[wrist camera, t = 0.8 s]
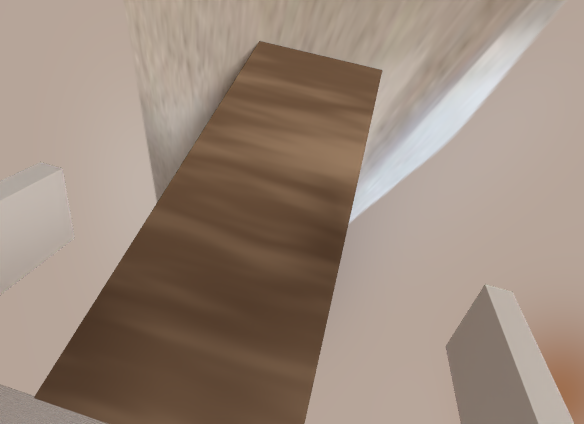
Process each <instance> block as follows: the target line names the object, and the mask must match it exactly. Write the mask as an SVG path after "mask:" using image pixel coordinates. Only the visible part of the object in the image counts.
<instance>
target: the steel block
mask: <svg viewBox="0 0 584 424" xmlns="http://www.w3.org/2000/svg"><path fill="white" fill-rule="evenodd" d="M34 397H35V396H32V395H30V394H26V393H24V392H21V391H18V390H15V389H12V388H9V387H6V386H3V385H0V424H108V423H105V422H102V421H99V420H96V419H93V418H90V417H87V416H84V415H81V414H78V413H76V412H73V411H70V410H67V409H64V408H61V407H58V406H55V405H52V404H49V403H47V402H44V401H41V400H38V399H35V398H34Z"/></svg>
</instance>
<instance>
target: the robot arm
mask: <svg viewBox="0 0 584 424" xmlns="http://www.w3.org/2000/svg"><path fill="white" fill-rule="evenodd" d="M73 239H74V232H73V226H72V220H71V215H70V208H69V202H68V196H67V190H66V184H65V178H64V173H63V168H60V167H57V166H53V165H50V164H46V163H42V162H40V163H38V164H35V165H33V166H31V167H29V168H27V169H25V170H23V171H20V172H18V173H16V174H14V175H12V176H10V177H7V178H5V179H3V180H1V181H0V295H1V294H3V293H4V292H5V291H7V290H8V289H9V288H10V287H12V286H13V285H14V284H16V283H17V282H18V281H20V280H21V279H22V278H24V277H25V276H26V275H27V274H29V273H30V272H31V271H33V270H34V269H35V268H37V267H38V266H39V265H40V264H42V263H43V262H44V261H46V260H47V259H48V258H50V257H51V256H52V255H53V254H55V253H56V252H57V251H59V250H60V249H61V248H63V247H64V246H65V245H66V244H68V243H69V242H70V241H72V240H73ZM446 350H447V355H448V360H449V365H450V371H451V376H452V381H453V385H454V391H455V396H456V401H457V405H458V411H459V416H460V421H461V424H574V422H573V420H572V418H571V416H570V414H569V411H568V409H567V407H566V405H565V403H564V401H563V399H562V396H561V394H560V392H559V390H558V388H557V386H556V384H555V382H554V379H553V377H552V375H551V373H550V371H549V369H548V367H547V365H546V362H545V360H544V358H543V356H542V354H541V352H540V350H539V347H538V346H537V343H536V341H535V339H534V337H533V335H532V332H531V330H530V328H529V326H528V324H527V322H526V319H525V317H524V315H523V313H522V311H521V309H520V307H519V305H518V302H517V300H516V298H515V296H514V294H513V292H512V291H507V290H504V289H501V288H497V287H494V286H490V285H486V284H485V285H484V287H483V289H482V290H481V292H480V293H479V295H478V296H477V298H476V299H475V301H474V302H473V304H472V306H471V307H470V309H469V310H468V312H467V314H466V315H465V317H464V318H463V320H462V321H461V323H460V325H459V326H458V328H457V329H456V331H455V333H454V334H453V336H452V337H451V339H450V341H449V342H448V344H447V345H446Z"/></svg>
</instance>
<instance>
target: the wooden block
mask: <svg viewBox="0 0 584 424" xmlns="http://www.w3.org/2000/svg"><path fill="white" fill-rule="evenodd" d="M381 74H382V70H379V69H375V68H370V67H366V66H362V65H358V64H354V63H349V62H345V61H341V60H337V59H333V58H328V57H324V56H320V55H316V54H311V53H307V52H303V51H299V50H295V49H290V48H286V47H282V46H278V45H274V44H269V43H265V42H261V41H259V43H258V44H257V46H256V48H255V49H254V51H253V52H252V54H251V56H250V57H249V59H248V60H247V62H246V63H245V65H244V67H243V68H242V70H241V71H240V73H239V74H238V76H237V78H236V79H235V81H234V82H233V84H232V86H231V87H230V89H229V90H228V92H227V93H226V95H225V97H224V98H223V100H222V101H221V103H220V104H219V106H218V108H217V109H216V111H215V112H214V114H213V116H212V117H211V119H210V120H209V122H208V123H207V125H206V127H205V128H204V130H203V131H202V133H201V134H200V136H199V138H198V139H197V141H196V142H195V144H194V146H193V147H192V149H191V150H190V152H189V153H188V155H187V157H186V158H185V160H184V161H183V163H182V164H181V166H180V168H179V169H178V171H177V172H176V174H175V176H174V177H173V179H172V180H171V182H170V183H169V185H168V187H167V188H166V190H165V191H164V193H163V194H162V196H161V198H160V199H159V201H158V202H157V204H156V206H155V207H154V209H153V210H152V212H151V214H150V215H149V217H148V218H147V220H146V222H145V223H144V225H143V226H142V228H141V229H140V231H139V232H138V234H137V236H136V237H135V239H134V240H133V242H132V243H131V245H130V247H129V248H128V250H127V251H126V253H125V255H124V256H123V258H122V259H121V261H120V262H119V264H118V266H117V267H116V269H115V270H114V272H113V273H112V275H111V277H110V278H109V280H108V281H107V283H106V285H105V286H104V288H103V289H102V291H101V292H100V294H99V296H98V297H97V299H96V300H95V302H94V304H93V305H92V307H91V308H90V310H89V312H88V313H87V315H86V316H85V318H84V319H83V321H82V322H81V324H80V326H79V327H78V329H77V330H76V332H75V333H74V335H73V337H72V338H71V340H70V341H69V343H68V345H67V346H66V348H65V350H64V351H63V353H62V354H61V356H60V357H59V359H58V360H57V362H56V363H55V365H54V367H53V368H52V370H51V371H50V373H49V375H48V376H47V378H46V379H45V381H44V383H43V384H42V386H41V387H40V389H39V390H38V392H37V394H36V395H35V397H34V398H35V399H38V400H41V401H44V402H47V403H49V404H52V405H55V406H58V407H61V408H64V409H67V410H70V411H73V412H76V413H78V414H81V415H84V416H87V417H90V418H93V419H96V420H99V421H102V422H105V423H108V424H304V423H305V419H306V414H307V409H308V405H309V400H310V396H311V391H312V387H313V382H314V377H315V373H316V368H317V364H318V360H319V355H320V350H321V346H322V341H323V337H324V332H325V328H326V323H327V319H328V314H329V310H330V305H331V301H332V296H333V291H334V286H335V282H336V278H337V273H338V269H339V264H340V259H341V255H342V250H343V246H344V242H345V237H346V232H347V228H348V223H349V219H350V214H351V210H352V205H353V201H354V196H355V192H356V187H357V183H358V178H359V173H360V169H361V164H362V160H363V155H364V151H365V146H366V142H367V137H368V133H369V128H370V124H371V119H372V114H373V110H374V105H375V101H376V96H377V92H378V87H379V83H380V78H381Z"/></svg>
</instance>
